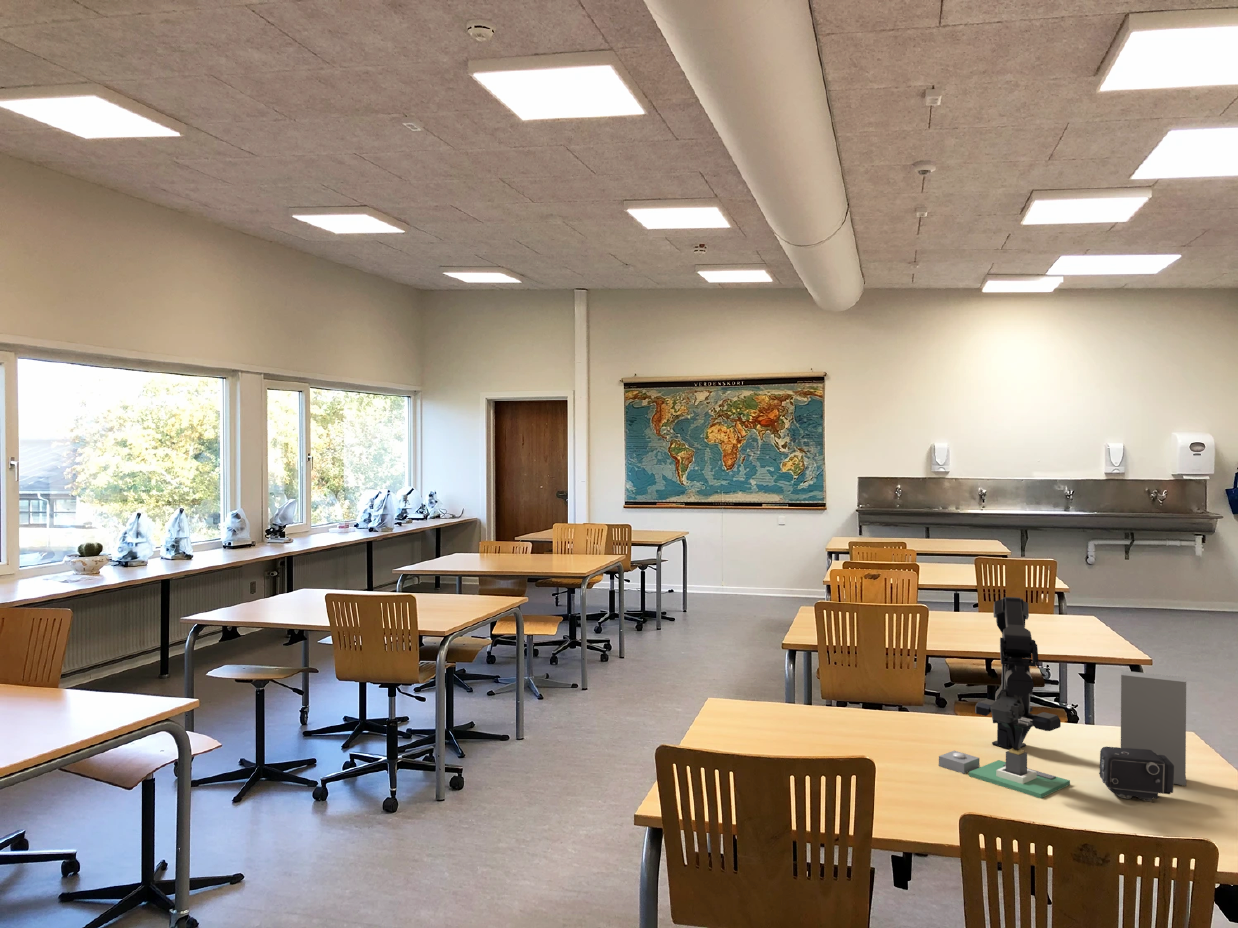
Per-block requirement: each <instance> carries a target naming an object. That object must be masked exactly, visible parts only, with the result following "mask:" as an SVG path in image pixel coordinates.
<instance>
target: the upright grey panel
mask: <svg viewBox="0 0 1238 928" xmlns="http://www.w3.org/2000/svg"><path fill="white" fill-rule="evenodd" d="M1186 742H1187V679H1186V677H1185V676H1174V675H1165V674H1157V673H1156V674H1155V673H1147V672H1146V673H1145V672H1138V671H1128V670H1121V675H1120V748H1131V749H1147V750H1152V751H1153V752H1154V753H1156V754H1157V755H1165V756H1166V757H1167V758H1168V759H1169V760H1170V761H1171V762H1172V764H1173V765H1174V782H1173V785H1179V786H1181V785H1184V786H1187V777H1186V776H1187V775H1186V773H1187V772H1186V769H1187V767H1186V764H1187V763H1186V762H1187V753H1186V751H1187V750H1186V749H1187V748H1186V747H1187V745H1186V744H1187V743H1186Z"/></svg>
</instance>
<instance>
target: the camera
mask: <svg viewBox="0 0 1238 928" xmlns="http://www.w3.org/2000/svg"><path fill="white" fill-rule="evenodd" d="M1098 775H1099V778H1100V780H1101V781H1102V783H1103V784H1104V785H1105V786H1106V788H1107V789H1108V790H1109V791H1110V792H1111V793H1113V794H1114V795H1116V796H1118V797H1119V798H1122V799H1128V800H1129V799H1132V798H1133V797H1137V798H1138V799H1140V800H1143V801H1147V802H1148V801H1149V802H1150V801H1153V800H1154V799H1158V797H1159V794H1163V795H1171V794H1173V793H1174V784H1173V782H1174V765H1173V764H1172V762H1171V761H1170V760H1169V759H1168V758H1167V757H1166V756H1165V755H1157V754H1156V753H1154V752H1153V751H1152V750H1147V749H1131V748H1121V747H1119V746H1115V747H1113V746H1103V747H1102V748H1100V751H1099V772H1098Z"/></svg>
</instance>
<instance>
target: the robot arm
mask: <svg viewBox="0 0 1238 928" xmlns="http://www.w3.org/2000/svg"><path fill="white" fill-rule="evenodd" d="M1029 609H1030V607H1029V602H1026V601H1025V600H1024V599H1023V598H1021V597H1017V596H1016V597H1015V596H1005V597H1002V598H1001V599H998V600H995V601H993V618H995V619H996V620H995V622H996V626H997V627H998V629H999V631H1000V632H1001V637H1000V638H999V651H1000V652H999V655H1000V664H1001V685H1000V686H999V688H998V689H997V691H996V692H995V700H993V699H988V698H986V699H984V700H981V701H978V702H977V703H976V704H975V707H974V708H975V710H974V711H975V714H976V715H981V716H985V717H986V716H988V715H991V716H992V718H991V719H992V723H993V724H997V727H996V728H997V731H996V734H997V735H996V738H997V740H994V741H992V742H991V745H993V746H994V745H995V746H998V747H1001V748H1005V749H1008V750H1010V749H1012V748H1014V750H1019V749H1022V748H1024V747H1026V746H1027V744H1026V743H1025V742H1024V740H1025V739H1026V737H1027V735H1028V733H1029V732H1030V730H1031V729H1032V727H1034V728H1035V729H1037V730H1041V731H1045V732H1051V731H1054V730H1057V729H1059V728H1061V726H1062V725H1061V721H1062V720H1061V718H1060V717H1059V716H1058V715H1057V714H1053V713H1049V712H1045V711H1043V712H1040V713H1037V714H1034V713H1031V712H1033V710H1034V709H1033V706H1031V695H1033V693H1034V692H1033V690H1034V686H1035V685H1034V684H1035V683H1034V681H1033V680H1034V679H1033V677H1032V674H1031V667H1034V668H1035V667H1037V663H1039V650H1038V644H1037V643H1036V640H1035V639H1032V634H1031V633H1032V632H1031V631H1030V630H1029V629H1027V628H1026V621H1027V620H1028V619H1029V617H1030V616H1029V614H1030V613H1029V611H1030V610H1029Z"/></svg>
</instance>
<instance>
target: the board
mask: <svg viewBox="0 0 1238 928" xmlns="http://www.w3.org/2000/svg"><path fill="white" fill-rule="evenodd" d="M968 776H969V777H971V778H974V779H977V780H980V781H983V782H986V783H990V784H993V785H997V786H1000V787H1003V788H1006V789H1009V790H1013V791H1016V792H1019V793H1023V794H1026V795H1029V796H1032V797H1036V798H1038V799H1043V798H1044V797H1047V796H1048V795H1051V794H1053V793H1056V792H1058V791H1059V790H1061V789H1063V788H1066V787H1068V786H1070V785H1071V780H1069V779H1065V778H1063V777H1059V776H1056V775H1053V774H1049V773H1045V772H1042V771H1038V770H1034V769H1031V768H1028V767H1027V774H1025V775H1023V776H1019V775H1016V774H1012V773H1009V772H1006V761H1004V760H1000V759H998V760H996V761H992V762H990V763H988V764H987V763H986V764H985V765H982V766H979V768H977V769H975V770H972V771H970V772H968Z"/></svg>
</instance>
